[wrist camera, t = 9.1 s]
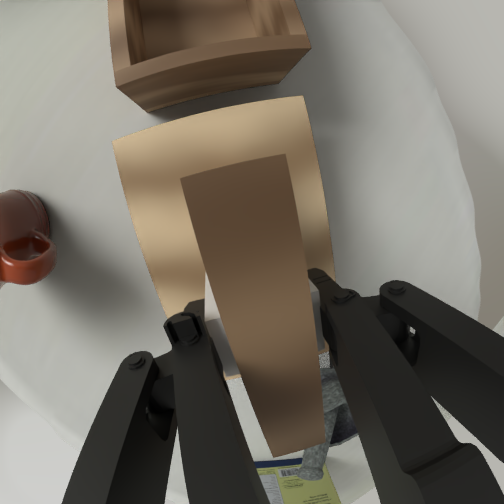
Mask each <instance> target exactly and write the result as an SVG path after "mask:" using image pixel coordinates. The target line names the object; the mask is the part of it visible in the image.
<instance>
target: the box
mask: <svg viewBox="0 0 504 504" xmlns="http://www.w3.org/2000/svg"><path fill="white" fill-rule="evenodd" d="M108 18H109V32H110V44H111V53H112V62H113V70H114V77H115V84H116V87H117V88H118V89H119V90H120V91H122V92H123V93H124V94H125V95H126V96H128V97H129V98H130V99H131V100H133V101H134V102H135V103H136V104H137V105H139V106H140V107H141V108H142V109H143V110H145V111H146V112H147V113H148V112H151V111H154V110H157V109H160V108H164V107H167V106H170V105H174V104H177V103H181V102H185V101H188V100H192V99H196V98H200V97H205V96H209V95H213V94H218V93H223V92H228V91H233V90H239V89H244V88H250V87H257V86H264V85H271V84H279V83H280V81H281V80H282V79H283V78H284V77H285V76H286V75H287V74H288V72H289V71H290V70H291V69H292V68H293V67H294V66H295V65H296V64H297V63H298V62H299V60H300V59H301V58H302V57H303V56H304V55H305V54H306V53H307V52H308V51H309V50H310V49H311V45H310V42H309V39H308V36H307V33H306V30H305V27H304V24H303V22H302V19H301V16H300V14H299V11H298V8H297V6H296V3H295V1H294V0H108Z"/></svg>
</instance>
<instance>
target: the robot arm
mask: <svg viewBox="0 0 504 504" xmlns="http://www.w3.org/2000/svg"><path fill="white" fill-rule="evenodd" d="M307 272H308V279H309V285H310V292H311V299H312V307H313V314H314V322H315V330H316V338H317V347H318V351H321V350H324V349H325V342H324V339H325V341H326V342H327V344H328V345H329V357H330V369H333V366H334V369H335V372H336V374H337V377H338V379H339V382H340V385H341V387H342V390H343V393H344V396H345V398H346V401H347V404H348V407H349V409H350V412H351V415H352V418H353V420H354V423H355V426H356V429H357V432H358V435H359V438H360V440H361V443H362V446H363V449H364V452H365V455H366V458H367V461H368V464H369V467H370V470H371V473H372V476H373V480H374V483H375V486H376V489H377V492H378V495H379V499H380V503H381V504H504V495H503V493H502V490H501V489H500V486H499V484H498V483H497V480H496V478H495V477H494V475H493V473H492V471H491V469H490V467H489V465H488V464H487V462H486V460H485V458H484V456H483V454H482V453H481V451H480V450H479V449H478V448H477V446H475V445H473V444H471V443H460V442H459V441H458V440H457V439H456V438H455V436H454V434H453V432H452V431H451V429H450V427H449V426H448V424H447V422H446V421H445V419H444V417H443V416H442V414H441V412H440V411H439V409H438V407H437V406H436V404H435V403H434V401H433V399H432V398H431V396H432V397H433V398H434V399H435V400H436V401H437V402H438V403H439V404H440V405H441V406H442V407H444V408H445V409H446V410H447V411H448V412H449V413H450V414H451V415H452V416H453V417H454V418H455V419H456V420H458V421H459V422H460V423H461V424H462V425H463V426H464V427H465V428H466V429H467V430H468V431H469V432H470V433H472V434H473V435H474V436H475V437H476V438H477V439H478V440H479V441H480V442H481V443H482V444H483V445H484V446H485V447H486V448H487V449H489V450H490V451H491V452H492V453H493V454H494V455H495V456H496V457H497V458H498V459H499V460H500V461H502V462H503V463H504V337H502V336H501V335H499V334H497V333H496V332H494V331H492V330H491V329H489V328H487V327H485V326H484V325H482V324H481V323H479V322H477V321H476V320H474V319H472V318H471V317H469V316H467V315H465V314H464V313H462V312H460V311H458V310H457V309H455V308H453V307H451V306H450V305H448V304H446V303H444V302H443V301H441V300H439V299H437V298H435V297H434V296H432V295H430V294H428V293H426V292H424V291H423V290H421V289H419V288H417V287H415V286H413V285H412V284H410V283H407V282H405V281H399V280H395V281H394V280H393V281H390V282H386V283H385V284H383V285H382V286H381V287H380V295H377V296H371V297H361V296H360V295H359V293H357V292H356V291H354V290H351V289H342V288H341V287H340V286H339V285H338V284H337V283H336V282H335V281H334V280H333V279H332V278H331V277H330V276H328V274H327V273H325V272H324V271H323V270H321V269H318V268H312V269H308V270H307ZM410 326H411V327H412V328H413V329H415V330H416V331H415V334H413V333H411V332H410ZM163 327H164V329H165V331H166V334H167V336H168V338H169V340H170V342H171V344H172V350H171V351H170V352H168V353H166V354H164V355H161V356H159V357H156V358H153V356H152V354H151V353H149V352H147V351H140V352H135V353H133V354H130V355H129V356H128V357H126V358H125V359H124V360H123V362H122V363H121V365H120V367H119V369H118V371H117V373H116V375H115V377H114V379H113V381H112V383H111V385H110V387H109V389H108V391H107V393H106V395H105V397H104V400H103V402H102V404H101V406H100V408H99V410H98V413H97V415H96V417H95V419H94V422H93V424H92V426H91V429H90V431H89V433H88V436H87V438H86V440H85V443H84V445H83V447H82V450H81V452H80V455H79V457H78V460H77V462H76V465H75V468H74V470H73V473H72V476H71V479H70V481H69V484H68V487H67V489H66V492H65V495H64V498H63V502H62V504H164V503H165V496H166V490H167V483H168V477H169V471H170V465H171V459H172V454H173V448H174V442H175V437H176V432H177V426H178V434H179V442H180V450H181V457H182V464H183V470H184V477H185V483H186V488H187V494H188V499H189V504H270V501H269V499H268V496H267V494H266V492H265V489H264V487H263V484H262V482H261V479H260V477H259V474H258V472H257V469H256V466H255V464H254V461H253V458H252V456H251V453H250V450H249V448H248V445H247V442H246V439H245V436H244V434H243V431H242V428H241V425H240V422H239V419H238V416H237V413H236V410H235V407H234V404H233V401H232V398H231V395H230V392H229V388H228V385H227V383H226V380H225V378H224V373H225V375H226V377H229V376H233V375H238V374H240V372H239V369H238V367H237V364H236V361H235V358H234V355H233V353H232V350H231V347H230V344H229V341H228V338H227V335H226V332H225V329H224V326H223V324H222V321H221V317H220V314H219V311H218V308H217V305H216V302H215V299H214V296H213V293H212V290H211V287H210V283H209V280H208V277H207V274H206V275H205V298H203V299H199V300H195V301H191V302H189V303H188V304H187V305H186V307H185V308H184V311H183V312H179V313H177V314H174V315H173V316H171V317H170V318H168V319H167V320H166V321H165V323H164V326H163ZM223 370H224V373H223Z"/></svg>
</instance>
